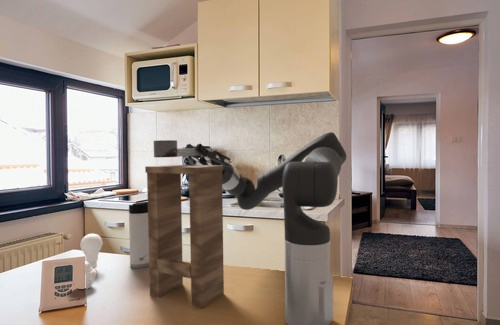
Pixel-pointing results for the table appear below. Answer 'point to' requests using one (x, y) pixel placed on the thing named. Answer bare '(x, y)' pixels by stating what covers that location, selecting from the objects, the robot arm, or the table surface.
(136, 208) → the travel mug
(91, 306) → the table surface
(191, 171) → the shelf
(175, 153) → the steel link
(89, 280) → the white ridged dome
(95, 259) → the lightbulb
